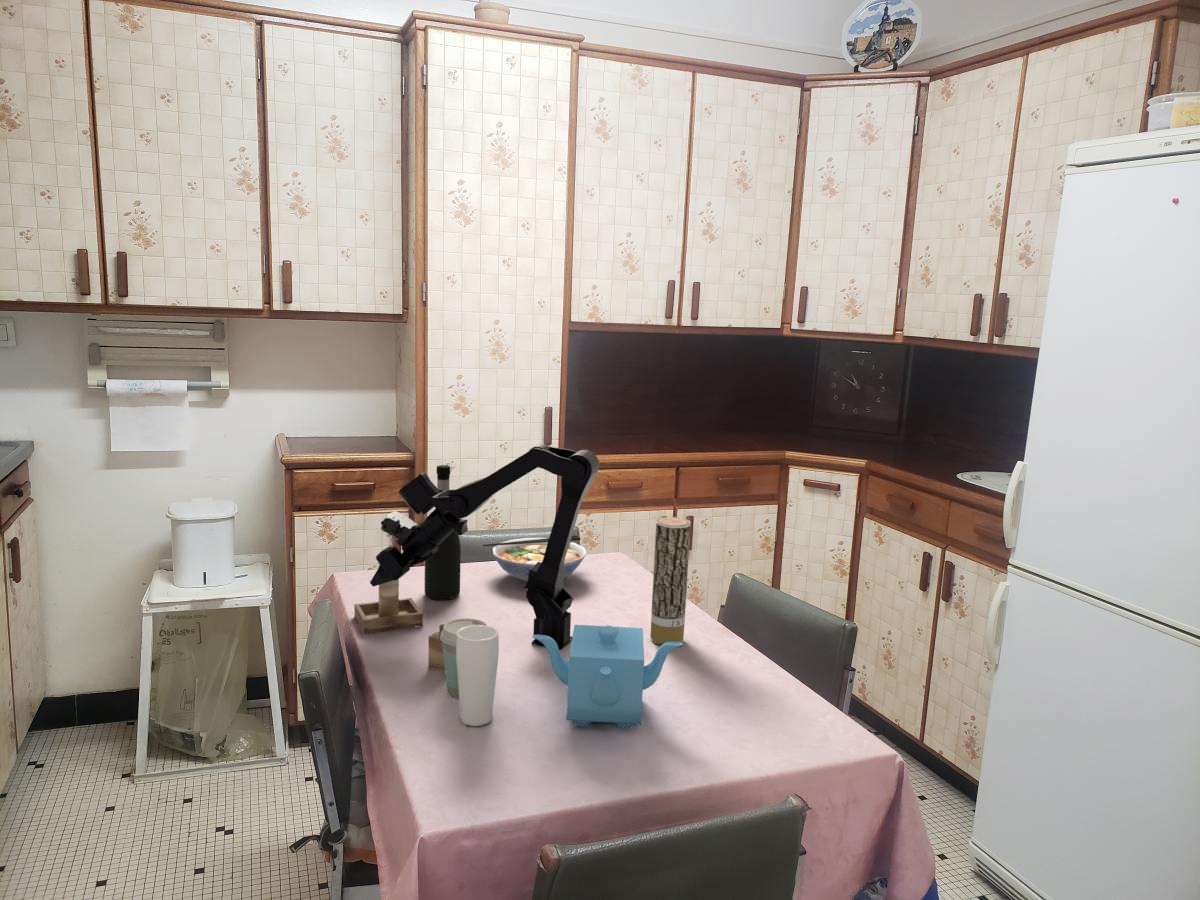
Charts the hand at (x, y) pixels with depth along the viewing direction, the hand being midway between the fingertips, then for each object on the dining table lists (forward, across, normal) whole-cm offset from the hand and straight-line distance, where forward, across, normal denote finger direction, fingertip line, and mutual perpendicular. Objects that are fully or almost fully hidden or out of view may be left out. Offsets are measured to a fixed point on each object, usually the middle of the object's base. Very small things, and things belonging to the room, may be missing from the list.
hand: (382, 577), depth 183 cm
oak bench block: (-10, +18, +23) cm, 31 cm away
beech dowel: (+5, 0, +7) cm, 9 cm away
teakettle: (-31, +27, +45) cm, 61 cm away
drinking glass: (-17, +35, +31) cm, 50 cm away
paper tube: (-35, -8, +48) cm, 60 cm away
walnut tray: (+6, 0, +8) cm, 9 cm away
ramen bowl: (-10, -37, +23) cm, 44 cm away
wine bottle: (+3, -18, +11) cm, 22 cm away
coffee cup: (-13, +26, +27) cm, 40 cm away
